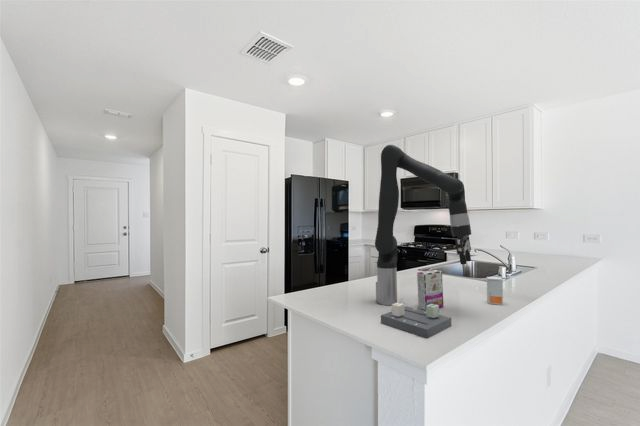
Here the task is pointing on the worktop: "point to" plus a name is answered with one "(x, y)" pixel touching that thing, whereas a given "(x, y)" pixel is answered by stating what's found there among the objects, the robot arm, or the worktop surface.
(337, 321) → the worktop surface
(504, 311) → the worktop surface
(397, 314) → the block
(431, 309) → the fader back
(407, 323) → the fader board
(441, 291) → the candy bar box
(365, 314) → the worktop surface
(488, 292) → the skincare box
